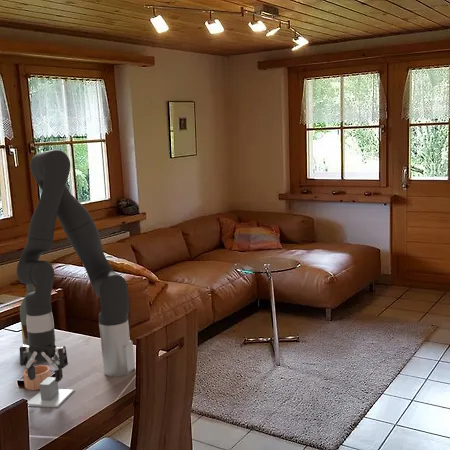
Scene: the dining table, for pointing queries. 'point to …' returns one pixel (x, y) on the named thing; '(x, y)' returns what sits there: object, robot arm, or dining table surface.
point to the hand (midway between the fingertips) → (45, 379)
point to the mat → (51, 407)
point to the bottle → (23, 318)
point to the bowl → (41, 375)
